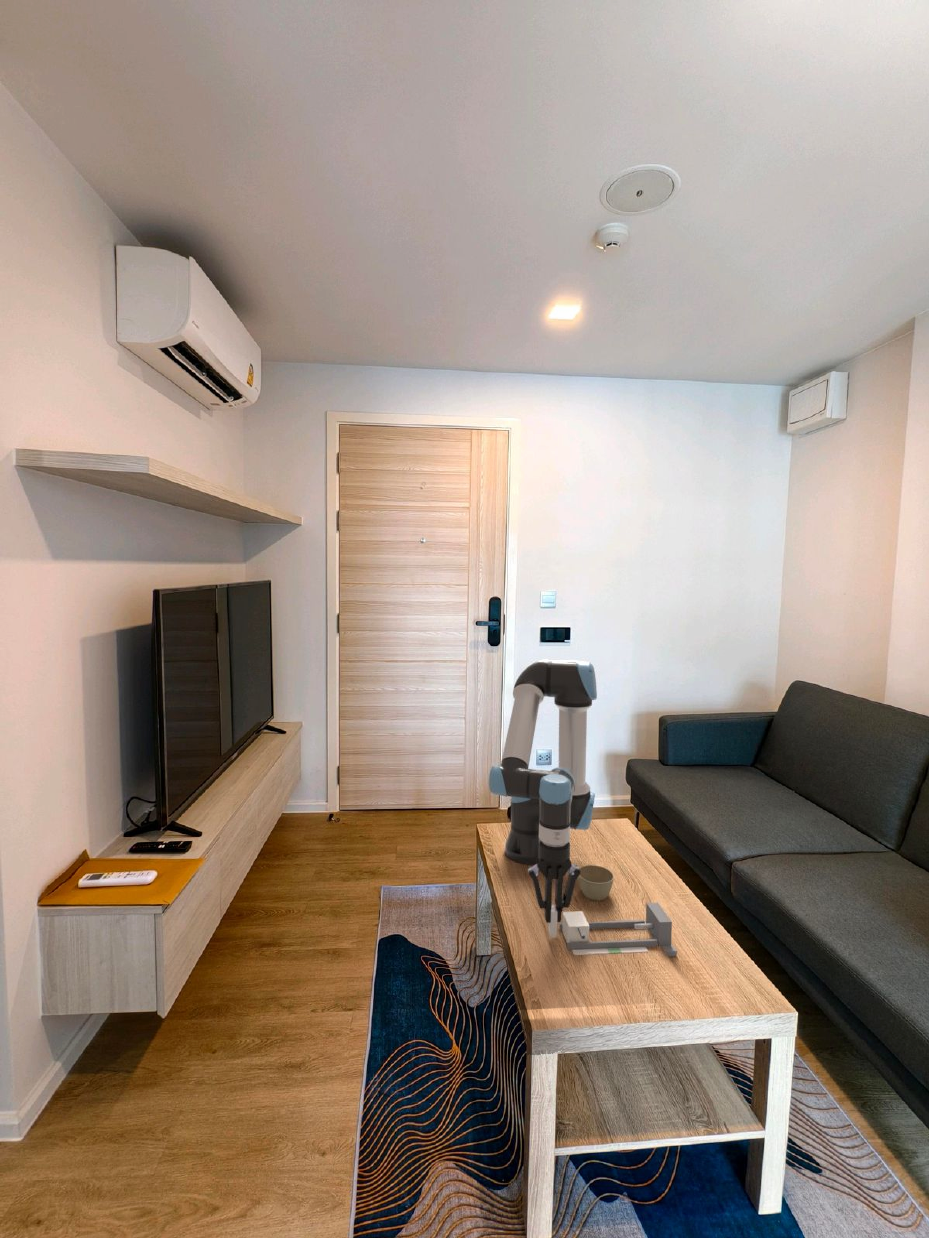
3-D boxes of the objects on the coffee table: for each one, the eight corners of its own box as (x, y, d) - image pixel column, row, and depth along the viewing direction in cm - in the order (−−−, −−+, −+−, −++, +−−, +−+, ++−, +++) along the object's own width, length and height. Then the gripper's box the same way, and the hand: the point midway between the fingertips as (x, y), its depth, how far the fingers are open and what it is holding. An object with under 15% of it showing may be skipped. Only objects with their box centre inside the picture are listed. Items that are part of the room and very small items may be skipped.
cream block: (562, 930, 138) (562, 911, 137) (581, 930, 138) (582, 911, 138) (572, 956, 128) (573, 935, 128) (593, 955, 129) (593, 935, 128)
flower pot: (614, 910, 149) (615, 885, 148) (577, 905, 151) (577, 880, 150) (612, 890, 158) (612, 866, 158) (577, 886, 160) (577, 862, 160)
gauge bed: (549, 928, 140) (550, 901, 140) (655, 924, 143) (656, 898, 142) (561, 960, 129) (561, 931, 128) (676, 955, 131) (677, 926, 130)
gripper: (530, 848, 129) (529, 944, 130) (585, 847, 130) (583, 942, 131) (525, 833, 136) (523, 925, 138) (576, 832, 137) (574, 923, 138)
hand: (552, 933), depth 134 cm, fingers closed
